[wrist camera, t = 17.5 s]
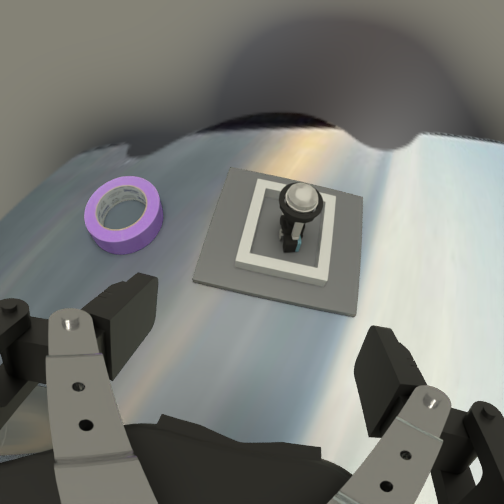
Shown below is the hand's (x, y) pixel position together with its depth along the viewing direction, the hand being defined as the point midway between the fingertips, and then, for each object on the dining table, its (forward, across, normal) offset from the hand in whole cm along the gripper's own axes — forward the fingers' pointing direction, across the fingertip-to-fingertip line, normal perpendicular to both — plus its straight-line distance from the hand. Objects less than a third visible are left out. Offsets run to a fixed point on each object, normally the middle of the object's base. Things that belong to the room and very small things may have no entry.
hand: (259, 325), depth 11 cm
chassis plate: (+36, -2, +5) cm, 36 cm away
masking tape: (+34, +22, +7) cm, 41 cm away
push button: (+35, -2, +4) cm, 35 cm away
